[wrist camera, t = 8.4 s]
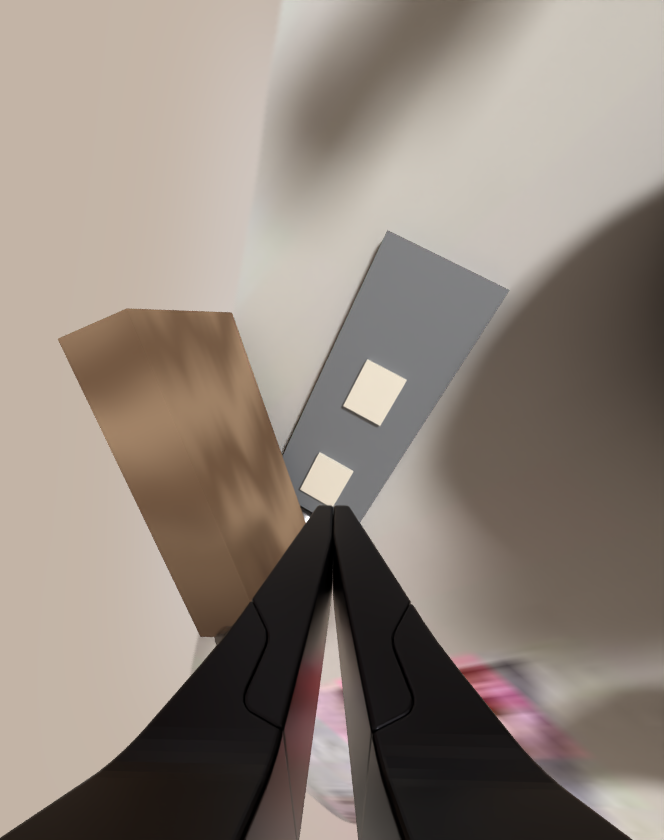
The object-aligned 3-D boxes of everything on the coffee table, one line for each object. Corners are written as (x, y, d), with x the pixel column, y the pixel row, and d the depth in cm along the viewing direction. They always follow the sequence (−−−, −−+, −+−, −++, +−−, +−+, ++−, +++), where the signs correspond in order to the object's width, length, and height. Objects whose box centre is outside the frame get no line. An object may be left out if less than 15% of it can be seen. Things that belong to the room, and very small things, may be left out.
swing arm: (318, 559, 23) (276, 663, 16) (270, 563, 24) (212, 661, 17) (231, 312, 19) (126, 308, 12) (180, 332, 20) (57, 338, 13)
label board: (353, 528, 24) (351, 537, 23) (272, 481, 24) (266, 488, 23) (505, 291, 17) (511, 289, 16) (388, 233, 17) (386, 228, 16)
